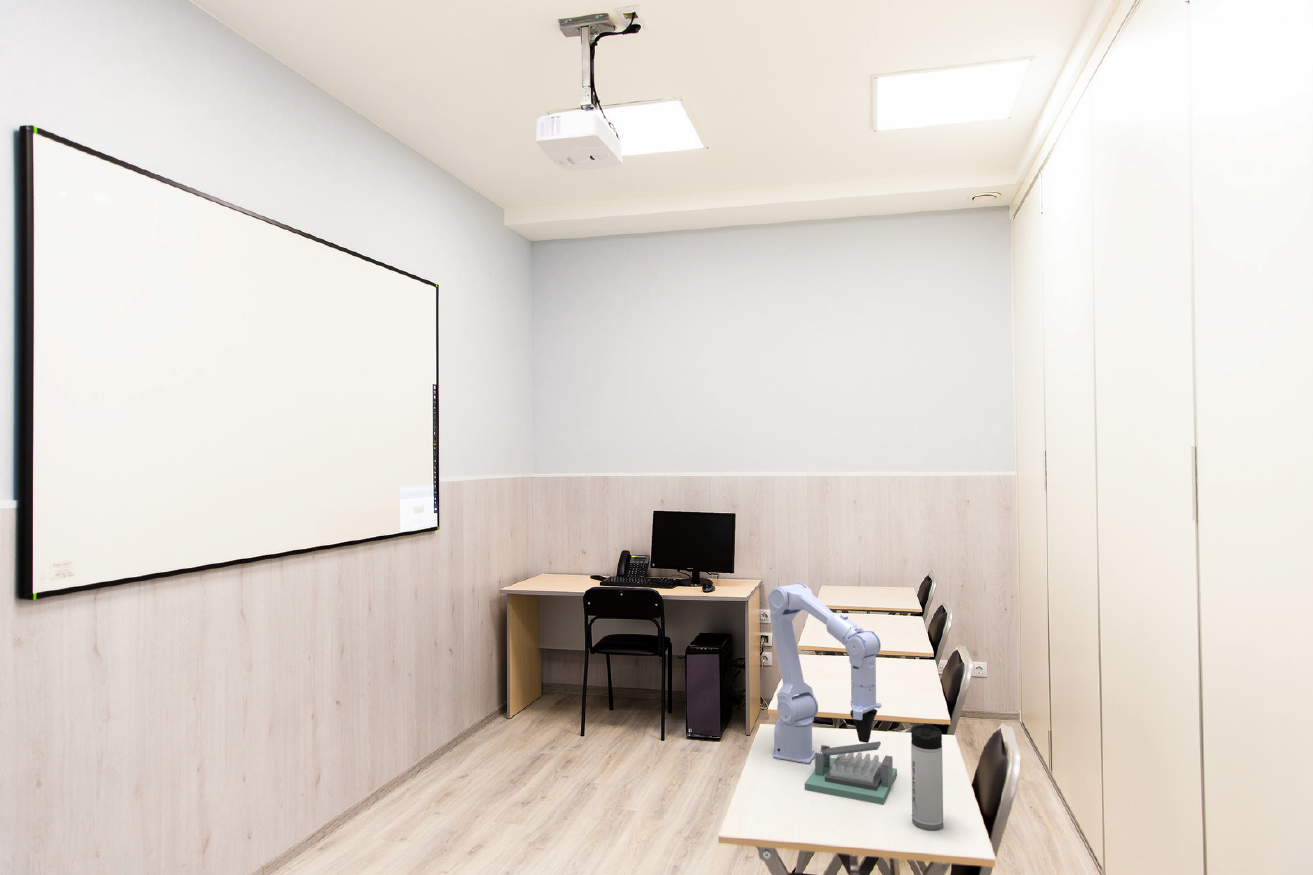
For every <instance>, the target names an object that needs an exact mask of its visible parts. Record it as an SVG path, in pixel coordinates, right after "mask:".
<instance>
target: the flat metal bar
mask: <svg viewBox="0 0 1313 875" xmlns="http://www.w3.org/2000/svg"><path fill="white" fill-rule="evenodd" d="M880 746H881V741H872V742H868V743H865V742H863V743H858V744H849V745H843V746H835V747H830V748H823V749H822V750H821V749H820V752H819V753H821V754H824V756H830V757H831V756H838V755H839V754H845V755H846V754H847V755H848V754H849V753H854V754H855V753H858V752H861V753H863V752H870V751H878V750H879V748H880Z"/></svg>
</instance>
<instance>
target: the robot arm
mask: <svg viewBox="0 0 1313 875" xmlns="http://www.w3.org/2000/svg"><path fill="white" fill-rule="evenodd" d="M767 601H768V606H769V610H770V611H769V615H770V616H769V618H770V623H771V628H772V634H773V639H774V645H775V649H776V654H777V659H778V664H779V670H780V675H781V681H782V686H781V688H780V689H779V691H778V692H777V694H776V696H777V698H776V699H777V705H776V706H777V707H776V711H777V715H778V717H779V718H778V719H776V721H775V725H774V729H773V738H774V739H773V746H774V750H773V752H774V753H773V756H772V757H773V758H775V759H780V760H785V761H791V762H797V763H804V764H810V763H811V762H812V760H813V759H815V753H818V751H817V750H813V722H814V721H815V718H814V717H815V716H817V715H818V713H819V703H818V700H817V698H816V697H815V695H814V692H813V687H811V686H810V685H809V684H808V683H806V682H805V680H804V676H803V669H802V664H801V661H800V660H801V659H800V656H799V651H798V646H797V641H796V635H795V630H794V627H793V620H794V619H795V617H796V616H797V615H798V614H799V613H800V612H802V611H805V612H806V613H808V614H810V615H811V616H812V617H814V618H815V619H817V621H820V623H822V624H824V625H826V631H827V632H828V634H829V635H831V636H832V637H833V638H834V639H836V640H837V641H838V642H839V643H840V644H842V645H843V646H844V648H845V652H846V654H848V658H849V661H848V662H849V663H850V684H851V685H850V692H851V697H850V706H851V710H850V717H851V719H852V721H853V724H854V726H855V728H856V733H857V734H856V735H857V738H858V742H861V743H870V739H871V734H872V729H873V723H874V721H875V719H876V715H877V714H878V710H877V709H881V708H882V703H881V702H878V701H877V680H876V679H877V667H876V666H877V663H876V662H877V660H876V656H877V655H878V654H879V653H880V650H881V647H882V646H881V640H880V638H879V637H878V635H877V634H876V633H875V632H874V630H865V629H863V628H862V626H860V625H857V624H855V622H853V621H852V620H850V618H849V616H848V615H847V614H846V613H836V614H835V613H834V612H833V611H832V610H830V609H829V607H828V606H826V604H825V603H824V602H822V601H821V600H820V599H818V597H817V596H816V595H814V594H813V589H812V588H810V587H808V586H807V585H806V584H804V583H803V582H800V583H799V582H798V583H796V584H789V585H782V586H779V585H778V586H774V587H772V589H771V590H770V592H769V593H768V594H767Z"/></svg>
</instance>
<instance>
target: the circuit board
mask: <svg viewBox="0 0 1313 875" xmlns="http://www.w3.org/2000/svg"><path fill="white" fill-rule="evenodd" d="M836 758H837V757H830V767H829V768H827V767H824V776H819V775H815V768H814V769H813V771H812V772H811V774H809V776H808V778H807V780H805V782H804V790H805V791H809V792H813V793H814V792H815V793H821V794H825V795H831V796H836V797H840V798H841V797H842V798H846V799H853V800H856V801H857V800H858V801H862V802H863V801H864V802H868V803H873V804H878V805H884V804H885V802H886V801H887V798H888V796H889V794H890V792H891V789H892V788H893V784H894V782H895V780H896V778H897V776H898V769H897V768H894V767H893V778H892V781H891V783H890V785H889V787H882V786H881V770H880V772H879V774H878V776H877V778H876V780H875V782H874V784H870V783H864V782H859V781H853V780H848V779H842V778H836V777H831V776H830V769H831V768H832V764H833V762H834V761H835V759H836Z"/></svg>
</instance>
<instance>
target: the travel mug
mask: <svg viewBox="0 0 1313 875" xmlns="http://www.w3.org/2000/svg"><path fill="white" fill-rule="evenodd" d="M910 730H911V731H910V734H911V736H910V737H911V742H910V744H911V745H910V746H911V747H910V748H911V749H910V750H911V751H910V752H911V754H910V756H911V757H910V758H911V762H910V763H911V766H910V767H911V820H912V821H911V822H912V824H914V826H916V827H917V828H920V829H923V830H925V831H926V830H927V831H937V830H940V829H942V828H943V827H944V784H943V783H944V782H943V780H944V777H943V775H944V774H943V773H944V772H943V767H944V766H943V765H944V764H943V733H942V731H941V729H940V728H938V727H936V726H934V725H933V724H932V723H925V722H924V723H923V724H917V725H914V726H913V727H912V728H911V729H910Z"/></svg>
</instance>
